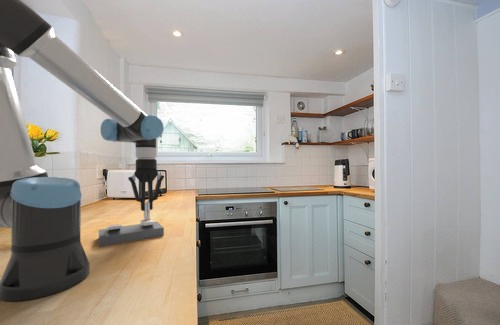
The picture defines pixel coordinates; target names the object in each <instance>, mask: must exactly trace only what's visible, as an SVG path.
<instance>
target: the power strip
mask: <svg viewBox="0 0 500 325" xmlns="http://www.w3.org/2000/svg"><path fill="white" fill-rule="evenodd" d="M164 234H165V233H164V226H162V225H161V224H160V223H159V222H157V221H155V224H153V225H146V226H143V225H142V224H141V223H139V224H138V223H137V224H130V225H124V226H122V228H118V229H111V230H108V229H107V228H101V229H98V245H99V246H98V247H99V248H101V247H107V246H113V245H118V244H119V245H120V244H124V243H130V242H135V241H140V240H146V239H152V238H158V237H163V236H165V235H164Z"/></svg>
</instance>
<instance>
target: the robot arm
mask: <svg viewBox="0 0 500 325" xmlns="http://www.w3.org/2000/svg"><path fill="white" fill-rule="evenodd" d="M16 55H17V56H18V57H21V58H22V57H23V58H29V59H30V60H32V61H33V62H35V63H36V65H39V67H41V68H42V69H44V70H45V71H47V72H49V73H50V75H52V76H53V77H55V78H56V79H58V80H59V81H60V82H62V83H63V84H65V85H66V86H67V87H69V88H70V89H71V90H72V91H74V92H75V93H77V95H79V96H81V97H82V98H84V99H85V100H86V101H88V103H91V104H92V105H93V106H94V107H96V108H97V109H98V110H100V111H101V112H103V113H104V114H105V115H107V116H108V117H109V118H105V119H104V120H103V121H102V122H101V125H100V135H101V137H102V139H103V140H105V141H108V142H113V143H116V142H117V143H118V142H119V143H133V144H134V146H135V158H136V160H135V171H134V174H132V175H130V176H128V177H127V179H128V181H129V182H130V184H131V188H132V192H133V195H134V196H133V197H134V198H135V201H136V202H139V203H140V211H142V212H143V220H146V219H151V210H153V209H154V207H153V204H154V201H156V200H158V198H159V193H160V189H161V185H162V181H163V180H164V178H165V176H164V175H161V174H159V171H158V166H157V159H156V158H157V156H158V155H157V154H158V153H157V139H159V138H160V137H161V136H162V134H163V132H164V124H163V123H164V122H163V121H162V120H161V119H162V118H160V117H159V116H157V115H155V114H146V113H145V112H144V111H143V110H141V108H139V107H138V106H137V105H136V104H135V103H133V101H131V100H130V99H129V98H128V97H127V96H125V95H124V94H123V93H122V92H121V90H118V89H117V88H116V87H115V86H114V85H113V84H112V83H110V81H108V80H107V79H106V78H105V77H104V76H102V75H101V74H100V73H99V72H98V71H97V70H96V69H95V68H93V67H92V66H91V65H90V64H89V63H88V62H86V61H85V60H84V59H83V58H82V57H81V56H79V55H78V54H77V53H76V52H75V51H74V50H73V49H72V48H70V47H69V46H68V45H67V44H66V43H65V42H63V41H62V40H61V38H59V37H58V36H56V35H55V31H54V28H53V26H52V25H51V24H50V23H49V22H47V21H46V20H45V19H44V18H43V17H42V16H41V15H40V14H38V13H37V12H36V11H35V10H34V9H33V8H31V7H29V6H28V5H27V4H25V3H24V2H23V1H21V0H0V226H2V227H6V228H8V229H9V228H10V229H11V230H10V231H11V236H10V238H11V239H10V240H11V241H10V242H11V253H10V258H9V259H8V261H7V262H8V263H6V264H7V265H6V267H5V269H4V271H3V274H2V276H1V278H0V300H3V301H5V302H6V301H7V302H18V301H27V300H28V301H29V300H34V299H39V298H43V297H46V296H50V295H54V294H57V293H59V292H62V291H64V290H66V289H69V288H71V287H73V286H75V285H77V284H79V283H81V282H82V281H83V280H85V279H86V278H87V277H88V276H89V274H90V261H89V259H88V257H87V254H86V252H85V249H84V246H83V245H82V242H81V217H82V216H81V215H82V214H81V213H82V212H81V211H82V209H81V208H82V207H81V206H82V192H81V184H80V183H79V182H78V181H77V180H76V179H73V178H69V177H57V176H49V175H48V171H47V170H46V169H44V168H43V167H40V166H38V164H37V161H36V157H35V153H34V149H33V146H32V142H31V138H30V135H29V132H28V127H27V125H26V120H25V118H24V113H23V110H22V106H21V103H20V102H21V101H20V99H19V96H18V93H17V89H16V88H17V87H16V85H15V82H14V78H13V74H12V70H13V69H14V68H15V67H16V66H17V65H18V62H17V57H16ZM136 180H138V181H139V182H140V195H139V191H138V186H137V184H136ZM154 180H156V183H155V188H154V189H153V181H154ZM146 183H147V194H148V196H147V198H148V201H146ZM153 190H154V191H153Z"/></svg>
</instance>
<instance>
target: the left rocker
mask: <svg viewBox="0 0 500 325" xmlns="http://www.w3.org/2000/svg"><path fill="white" fill-rule="evenodd" d="M118 228H122V224H121V223H120V224H119V223H118V224H117V223H116V224H110V225H107V227H106V229H108V230H111V229H118Z"/></svg>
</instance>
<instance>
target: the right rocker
mask: <svg viewBox="0 0 500 325" xmlns="http://www.w3.org/2000/svg"><path fill="white" fill-rule="evenodd" d="M155 222H156V220H154V219H152V218H150V219H146V220H145V219H141V220H140V222H139V224H142V225H143V226H146V225H153V224H155Z"/></svg>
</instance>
